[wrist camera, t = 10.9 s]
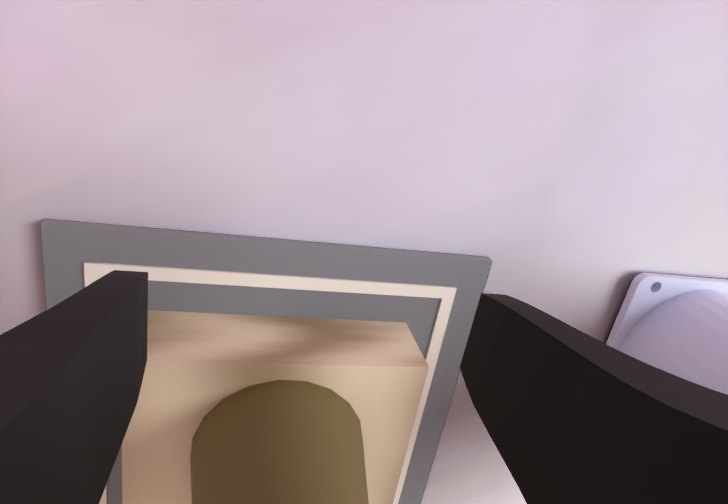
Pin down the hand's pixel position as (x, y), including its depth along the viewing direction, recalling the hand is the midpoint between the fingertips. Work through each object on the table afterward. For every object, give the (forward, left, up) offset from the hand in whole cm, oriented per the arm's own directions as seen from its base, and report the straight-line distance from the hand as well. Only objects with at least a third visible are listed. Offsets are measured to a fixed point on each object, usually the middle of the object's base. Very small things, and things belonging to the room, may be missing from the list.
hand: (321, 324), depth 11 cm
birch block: (0, +9, -8) cm, 12 cm away
